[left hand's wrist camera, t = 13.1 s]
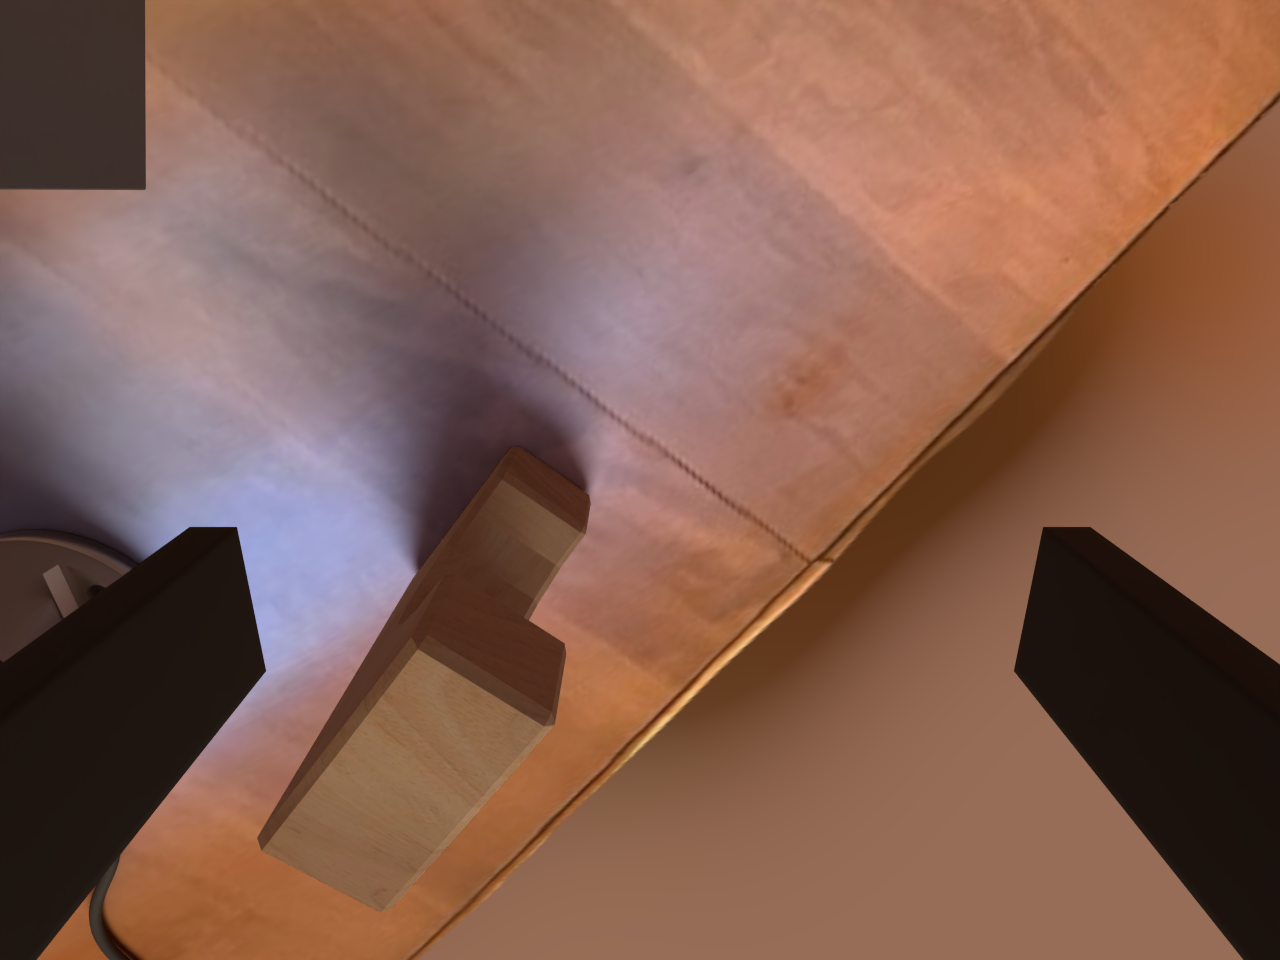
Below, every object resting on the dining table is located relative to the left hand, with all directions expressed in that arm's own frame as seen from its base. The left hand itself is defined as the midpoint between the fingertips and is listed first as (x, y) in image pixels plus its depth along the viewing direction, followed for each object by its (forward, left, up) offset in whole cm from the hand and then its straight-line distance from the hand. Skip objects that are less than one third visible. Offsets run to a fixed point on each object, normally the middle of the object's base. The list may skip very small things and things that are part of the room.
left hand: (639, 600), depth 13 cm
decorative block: (-12, +8, -29) cm, 33 cm away
